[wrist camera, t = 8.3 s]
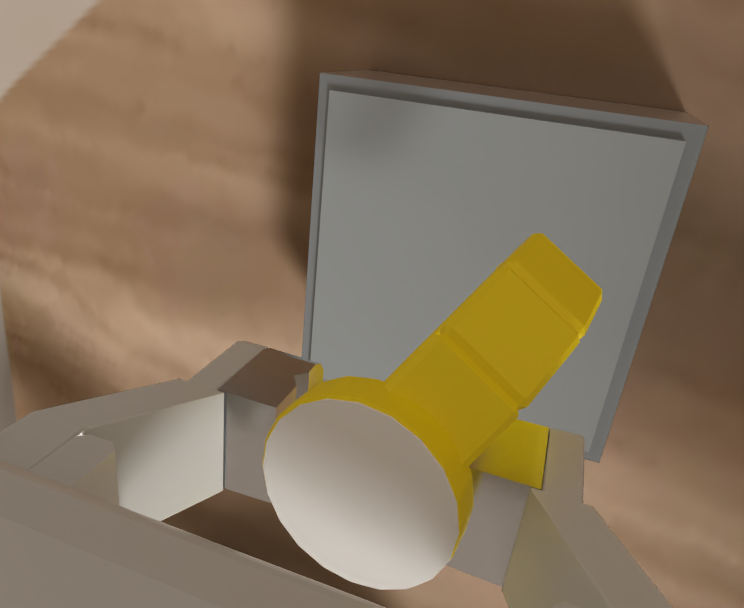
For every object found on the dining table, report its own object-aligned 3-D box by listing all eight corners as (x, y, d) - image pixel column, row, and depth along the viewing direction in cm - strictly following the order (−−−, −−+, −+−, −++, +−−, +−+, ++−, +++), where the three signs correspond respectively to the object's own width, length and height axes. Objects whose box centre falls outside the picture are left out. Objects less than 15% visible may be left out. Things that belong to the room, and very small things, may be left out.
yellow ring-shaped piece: (531, 179, 11) (433, 241, 6) (643, 283, 11) (639, 440, 6) (350, 372, 14) (177, 525, 9) (435, 458, 14) (307, 668, 9)
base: (685, 111, 18) (709, 126, 14) (598, 397, 22) (599, 466, 18) (367, 69, 20) (317, 72, 17) (342, 332, 24) (297, 381, 21)
